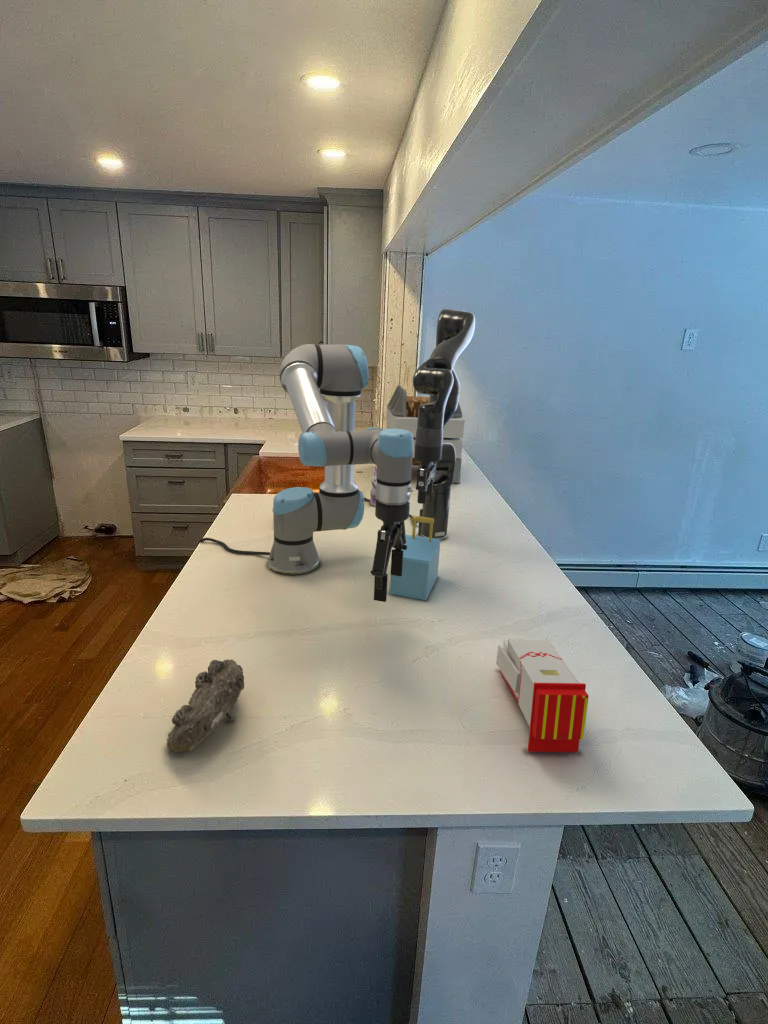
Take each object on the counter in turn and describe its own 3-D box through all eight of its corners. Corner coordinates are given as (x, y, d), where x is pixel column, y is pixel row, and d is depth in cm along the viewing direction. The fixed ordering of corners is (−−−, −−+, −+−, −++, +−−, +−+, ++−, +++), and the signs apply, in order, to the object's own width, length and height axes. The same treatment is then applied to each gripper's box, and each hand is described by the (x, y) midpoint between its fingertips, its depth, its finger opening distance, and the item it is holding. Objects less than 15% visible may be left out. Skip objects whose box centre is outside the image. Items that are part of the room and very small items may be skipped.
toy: (545, 622, 128) (598, 691, 98) (539, 677, 130) (589, 759, 101) (491, 621, 127) (529, 690, 98) (487, 676, 130) (522, 759, 101)
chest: (403, 571, 172) (405, 538, 168) (437, 576, 169) (440, 544, 165) (389, 593, 158) (391, 558, 154) (426, 600, 155) (428, 565, 151)
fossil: (192, 660, 117) (244, 628, 112) (224, 691, 120) (276, 661, 115) (142, 746, 98) (202, 712, 93) (182, 779, 101) (242, 748, 96)
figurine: (374, 508, 224) (376, 471, 219) (363, 500, 232) (364, 464, 227) (395, 505, 228) (397, 469, 223) (384, 497, 237) (385, 462, 231)
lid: (406, 537, 169) (408, 512, 166) (440, 543, 166) (442, 516, 163) (391, 558, 154) (393, 530, 151) (428, 564, 151) (431, 536, 149)
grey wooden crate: (382, 463, 289) (386, 382, 275) (445, 464, 293) (451, 384, 279) (390, 482, 257) (394, 392, 243) (460, 483, 261) (468, 394, 247)
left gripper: (394, 521, 112) (389, 615, 119) (422, 487, 135) (416, 568, 142) (358, 516, 114) (355, 609, 121) (391, 483, 137) (387, 563, 144)
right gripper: (437, 449, 148) (432, 508, 153) (447, 438, 160) (442, 493, 166) (409, 446, 149) (405, 504, 155) (421, 436, 162) (417, 490, 168)
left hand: (388, 587), depth 132 cm, fingers open, 13 cm apart
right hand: (424, 498), depth 160 cm, fingers open, 8 cm apart
